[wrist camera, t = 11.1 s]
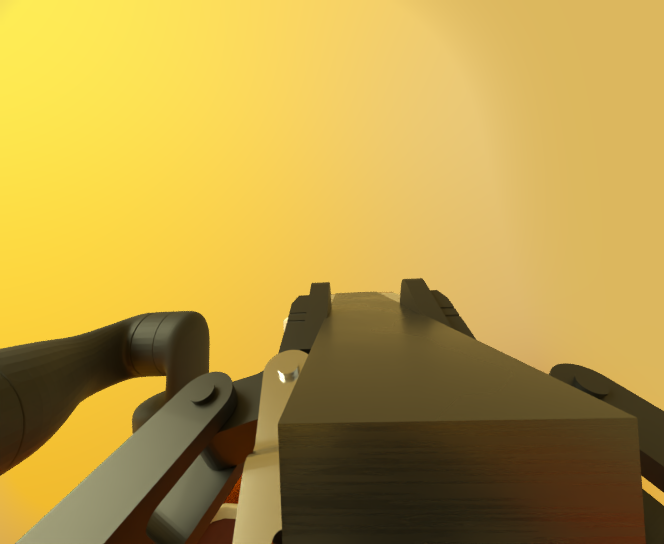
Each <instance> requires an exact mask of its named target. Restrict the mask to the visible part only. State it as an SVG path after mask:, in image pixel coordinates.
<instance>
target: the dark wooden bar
mask: <svg viewBox="0 0 664 544" xmlns="http://www.w3.org/2000/svg"><path fill="white" fill-rule="evenodd" d="M331 304H332V307H331V310H330V312H329V315H328V317H327V318H325V319H324V321H323V323H322V325H321V328H320V330H319V332H318V334H317V337H316V339H315V341H314V343H313V346H312V348H311V350H310V352H309V355H308V357H307V359H306V361H305V364H304V366H303V368H302V370H301V373H300V375H299V377H298V379H297V382H296V384H295V386H294V388H293V390H292V393H291V395H290V397H289V399H288V402H287V404H286V406H285V408H284V411H283V413H282V415H281V417H280V420H279V422H278V445H279V469H280V494H281V519H282V543H283V544H646V539H645V524H644V509H643V495H642V482H641V481H642V480H641V465H640V450H639V435H638V420H637V417H635V416H633V415H631V414H629V413H627V412H624V411H622V410H620V409H618V408H616V407H614V406H612V405H610V404H608V403H606V402H604V401H602V400H600V399H598V398H595V397H593V396H591V395H589V394H587V393H585V392H583V391H581V390H579V389H577V388H575V387H573V386H571V385H569V384H566V383H564V382H562V381H560V380H558V379H556V378H554V377H552V376H550V375H548V374H546V373H544V372H542V371H539V370H537V369H535V368H533V367H531V366H529V365H527V364H525V363H523V362H521V361H519V360H517V359H515V358H513V357H511V356H508V355H506V354H504V353H502V352H500V351H498V350H496V349H494V348H492V347H490V346H488V345H485V344H483V343H481V342H479V341H477V340H475V339H473V338H471V337H469V336H467V335H465V334H463V333H461V332H459V331H457V330H455V329H453V328H450V327H448V326H446V325H444V324H442V323H440V322H438V321H436V320H434V319H432V318H430V317H428V316H426V315H424V314H423V315H421V314H419V313H417V312H415V311H413V310H411V309H409V308H407V307H405V306H403V305H401V304H400V295H398V294H396V293H393V292H358V293H337V294H331Z"/></svg>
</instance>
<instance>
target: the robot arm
mask: <svg viewBox="0 0 664 544" xmlns="http://www.w3.org/2000/svg"><path fill="white" fill-rule="evenodd" d="M400 304H401V305H403V306H405V307H407V308H409V309H411V310H413V311H415V312H417V313H419V314H421V315H423V314H424V315H426V316H428V317H430V318H432V319H434V320H436V321H438V322H440V323H442V324H444V325H446V326H448V327H450V328H453V329H455V330H457V331H459V332H461V333H463V334H465V335H467V336H469V337H471V338H473V339H475V337H474V336H473V334H472V333H471V331H470V330H469V328H468V327H467V325H466V324H465V323H464V321H463V320H462V318H461V317H459V314H458V312H457V311H456V309H454V306H453V305H452V303H451V302H450V301H449V299H448V298H447V297H446V296H444V295H443V294H441V293H440V292H439V291H437V290H431V291H430V290H429V288H428V287H427V285H426V283H425V281H424V280H423V279H422V278H420V279H403V280H402V283H401V293H400ZM331 307H332V304H331V292H330V283H329V282H326V283H312V284H311V289H310V295H306V296H299V297H298V298H297V299H296V300H295V301H294V302H293V303H292V305H291V309H290V315H289V316H288V320H287V324H286V327H285V331H284V335H283V339H282V342H281V346H280V350H279V353H278V354H277V355H276V356H274V357H273V358H272V359H271V360H270V361H269V362H268V363H267V365H266V367H265V369H264V371H262V372H260V373H258V374H256V375H253V376H250V377H247V378H243V379H240V380H237V381H234V382H232V380H231V378H230V377H229V376H228V375H227V374H225V373H222V372H211V373H209V329H208V325H207V322H206V320H205V318H204V317H203V316H202V315H201V314H200V313H197V312H194V311H179V312H156V313H147V314H141V315H138V316H134V317H131V318H128V319H125V320H122V321H120V322H117V323H114V324H112V325H108V326H105V327H103V328H100V329H97V330H94V331H91V332H88V333H84V334H81V335H77V336H74V337H68V338H63V339H55V340H48V341H41V342H35V343H30V344H24V345H19V346H13V347H8V348H3V349H0V475H2V474H4V473H5V472H6V471H8V470H10V469H11V468H13V467H14V466H16V465H17V464H19V463H20V462H22V461H23V460H25V459H26V458H28V457H29V456H30V455H32V454H33V453H34V452H35V451H37V450H38V449H39V448H40V447H41V446H43V444H45V443H46V441H48V440H49V439H50V438H51V437H52V436H53V435H54V434H55V432H57V430H58V429H59V428H60V427H61V426H62V425H63V423H64V422H65V421H66V420H67V419H68V417H69V416H70V415H71V413H72V412H73V411H74V409H75V408H76V406H77V405H78V404H79V403H80V402H81V401H83V400H84V399H86V398H87V397H89V396H91V395H93V394H94V393H96V392H99V391H101V390H103V389H105V388H107V387H109V386H112V385H114V384H117V383H119V382H122V381H125V380H128V379H131V378H137V377H146V376H166V391H164V392H161V393H159V394H156V395H155V396H153V397H151V398H149V399H147V400H146V401H144V402H143V403H142V404H140V405H139V406H138V407H137V408H136V410H135V411H134V414H133V418H132V425H133V426H132V428H133V435H132V436H131V437H130V438H129V439H127V440H126V441H125V442H124V443H123V444H122V445H121V446H120V447H119V448H118V449H117V450H116V451H114V452H113V453H112V454H111V455H110V456H109V457H108V458H107V459H106V460H105V461H104V462H103V463H102V464H100V465H99V466H98V467H97V468H96V469H95V470H94V471H93V472H92V473H91V474H90V475H89V476H88V477H86V478H85V479H84V480H83V481H82V482H81V483H80V484H79V485H78V486H77V487H76V488H75V489H73V490H72V491H71V492H70V493H69V494H68V495H67V496H66V497H65V498H64V499H63V500H62V501H60V503H58V504H57V505H56V506H55V507H54V508H53V509H52V510H51V511H50V512H49V513H48V514H46V515H45V516H44V517H43V518H42V519H41V520H40V521H39V522H38V523H37V524H36V525H35V526H33V527H32V528H31V529H30V530H29V531H28V532H27V533H26V534H25V535H24V536H23V537H22V538H20V539H19V540H18V541H17V542H16V543H15V544H197V543H198V542H199V540H200V538H201V537H202V535H203V534H204V532H205V531H206V529H207V528H208V526H209V524H210V523H211V521H212V520H213V518H214V517H215V515H216V514H217V512H218V510H219V509H220V507H221V506H222V504H223V503H224V501H225V500H226V498H227V496H228V495H229V493H230V492H231V490H232V489H233V487H234V486H235V484H236V482H237V481H238V479H239V478H240V476H241V475H242V480H241V487H240V494H239V501H238V508H237V515H236V522H235V529H234V536H233V543H232V544H283V543H282V519H281V494H280V469H279V445H278V422H279V420H280V417H281V415H282V413H283V411H284V408H285V406H286V404H287V402H288V399H289V397H290V395H291V393H292V390H293V388H294V386H295V384H296V382H297V379H298V377H299V375H300V373H301V370H302V368H303V366H304V364H305V361H306V359H307V357H308V355H309V352H310V350H311V348H312V346H313V343H314V341H315V339H316V337H317V334H318V332H319V330H320V328H321V325H322V323H323V321H324V319H325V318H327V317H328V315H329V312H330V310H331ZM475 340H476V339H475ZM549 375H550V376H552V377H554V378H556V379H558V380H560V381H562V382H564V383H566V384H569V385H571V386H573V387H575V388H577V389H579V390H581V391H583V392H585V393H587V394H589V395H591V396H593V397H595V398H598V399H600V400H602V401H604V402H606V403H608V404H610V405H612V406H614V407H616V408H618V409H620V410H622V411H624V412H627V413H629V414H631V415H633V416H635V417H637V420H638V435H639V450H640V465H641V475H642V476H643V477H644V478H646V479H647V480H648V481H649V482H651V483H652V484H653V485H655V486H656V487H657V488H658V489H660V490H661V491H662V492H664V411H662V410H661V409H659V408H657V407H656V406H654V405H652V404H651V403H649V402H647V401H646V400H644V399H642V398H641V397H639V396H637V395H636V394H634V393H632V392H630V391H629V390H627V389H625V388H624V387H622V386H620V385H619V384H617V383H615V382H614V381H612V380H610V379H609V378H607V377H605V376H603V375H602V374H600V373H598V372H596V371H593V370H591V369H588V368H585V367H583V366H579V365H574V364H558V365H556V366H554V367H553V368H552V369H551V371H550V373H549ZM242 473H243V474H242ZM642 495H643V509H644V524H645V539H646V544H664V506H663V505H662V504H661V503H660V502H658V501H657V500H656V499H655V498H653V497H652V496H651V495H650V494H648V493H647V492H646V491H645V490H643V489H642Z"/></svg>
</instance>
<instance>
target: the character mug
mask: <svg viewBox="0 0 664 544" xmlns="http://www.w3.org/2000/svg"><path fill="white" fill-rule="evenodd" d="M237 508H238V504H232V503H224V504H222V506H221V507H220V509H219V510H218V512H217V514H216V515H215V517H214V518H213V520H212V521H211V523H210V524H209V526H208V528H207V529H206V531H205V532H204V534H203V535H202V537H201V538H200V540H199V542H198V543H197V544H232V543H233V536H234V529H235V522H236V515H237Z"/></svg>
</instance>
